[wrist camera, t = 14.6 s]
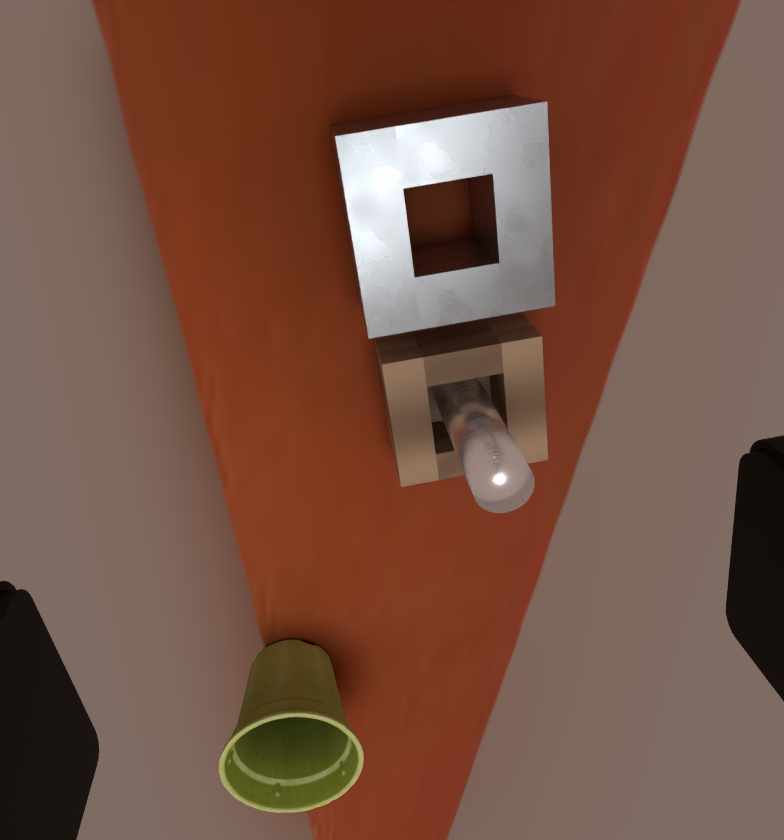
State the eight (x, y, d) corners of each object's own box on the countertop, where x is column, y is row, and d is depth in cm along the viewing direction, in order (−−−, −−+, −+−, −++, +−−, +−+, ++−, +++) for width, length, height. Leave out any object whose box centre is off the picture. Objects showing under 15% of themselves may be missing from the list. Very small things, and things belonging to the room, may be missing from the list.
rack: (373, 333, 44) (381, 364, 40) (517, 308, 45) (541, 336, 40) (391, 447, 48) (401, 486, 44) (524, 422, 48) (548, 459, 44)
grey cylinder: (428, 367, 45) (470, 465, 34) (476, 359, 45) (532, 454, 34) (433, 411, 46) (475, 518, 35) (480, 402, 46) (536, 506, 35)
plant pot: (327, 603, 53) (332, 696, 45) (371, 688, 57) (382, 786, 50) (208, 645, 54) (193, 744, 46) (260, 726, 58) (255, 829, 50)
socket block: (329, 125, 39) (335, 136, 33) (512, 95, 39) (547, 101, 34) (359, 303, 43) (368, 338, 38) (523, 275, 44) (555, 305, 38)
